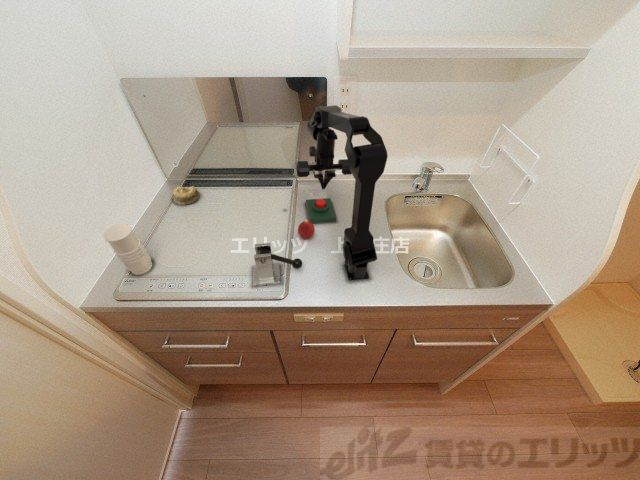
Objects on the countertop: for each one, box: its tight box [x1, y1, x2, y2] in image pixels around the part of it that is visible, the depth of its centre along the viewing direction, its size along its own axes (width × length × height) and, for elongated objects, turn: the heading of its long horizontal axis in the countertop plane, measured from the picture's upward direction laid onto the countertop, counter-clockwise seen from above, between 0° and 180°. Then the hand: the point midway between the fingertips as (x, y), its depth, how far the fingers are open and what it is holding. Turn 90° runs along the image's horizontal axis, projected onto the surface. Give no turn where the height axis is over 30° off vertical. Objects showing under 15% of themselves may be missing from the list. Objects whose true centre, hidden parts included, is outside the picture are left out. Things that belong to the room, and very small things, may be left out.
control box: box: [305, 197, 337, 225], centre depth 103 cm, size 12×10×4 cm
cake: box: [172, 185, 201, 206], centre depth 106 cm, size 10×10×5 cm
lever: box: [257, 247, 304, 270], centre depth 78 cm, size 14×3×3 cm
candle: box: [102, 223, 153, 276], centre depth 78 cm, size 7×7×15 cm
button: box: [316, 198, 326, 208], centre depth 101 cm, size 4×4×2 cm
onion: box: [297, 219, 316, 240], centre depth 92 cm, size 6×6×8 cm
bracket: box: [252, 242, 281, 287], centre depth 78 cm, size 8×7×12 cm
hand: (323, 188), depth 97 cm, fingers closed
